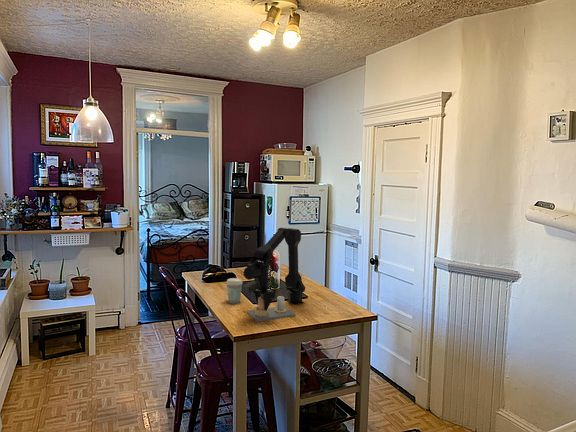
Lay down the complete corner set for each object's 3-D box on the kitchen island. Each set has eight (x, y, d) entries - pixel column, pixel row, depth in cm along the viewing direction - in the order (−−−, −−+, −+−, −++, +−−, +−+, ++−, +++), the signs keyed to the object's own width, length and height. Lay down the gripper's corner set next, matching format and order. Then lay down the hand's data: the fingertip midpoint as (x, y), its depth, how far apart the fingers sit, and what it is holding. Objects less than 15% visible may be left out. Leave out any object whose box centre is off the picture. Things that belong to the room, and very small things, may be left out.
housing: (283, 307, 219) (284, 292, 219) (295, 315, 208) (296, 299, 207) (246, 312, 211) (247, 296, 210) (257, 321, 199) (257, 304, 198)
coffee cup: (222, 301, 228) (223, 279, 226) (236, 298, 233) (236, 276, 232) (231, 305, 221) (232, 282, 220) (245, 302, 227) (245, 280, 225)
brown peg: (263, 312, 209) (263, 296, 208) (266, 314, 206) (266, 298, 205) (256, 313, 208) (256, 296, 207) (259, 315, 205) (259, 298, 204)
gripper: (239, 272, 210) (239, 303, 211) (253, 282, 193) (253, 315, 195) (260, 270, 215) (260, 301, 216) (276, 279, 198) (275, 312, 200)
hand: (261, 307), depth 207 cm, fingers open, 9 cm apart
